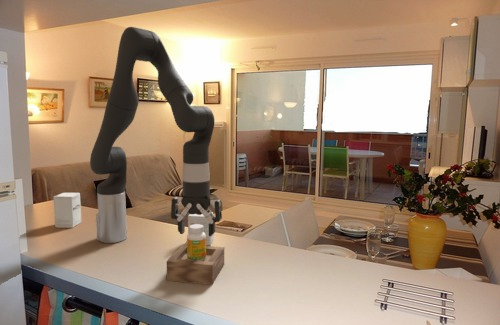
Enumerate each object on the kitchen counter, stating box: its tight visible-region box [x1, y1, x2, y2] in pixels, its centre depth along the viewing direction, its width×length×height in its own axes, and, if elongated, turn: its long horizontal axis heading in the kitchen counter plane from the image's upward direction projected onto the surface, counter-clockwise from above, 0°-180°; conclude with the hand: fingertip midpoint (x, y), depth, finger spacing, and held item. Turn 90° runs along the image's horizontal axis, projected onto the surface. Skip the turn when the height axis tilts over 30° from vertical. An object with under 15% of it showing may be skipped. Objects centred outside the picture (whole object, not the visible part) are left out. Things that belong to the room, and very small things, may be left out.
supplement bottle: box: [186, 224, 207, 261], centre depth 104 cm, size 5×5×10 cm
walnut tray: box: [166, 243, 225, 285], centre depth 104 cm, size 13×13×6 cm
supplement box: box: [52, 192, 82, 229], centre depth 145 cm, size 7×7×13 cm
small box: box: [187, 211, 215, 246], centre depth 128 cm, size 8×6×10 cm
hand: (196, 234), depth 103 cm, fingers open, 8 cm apart
